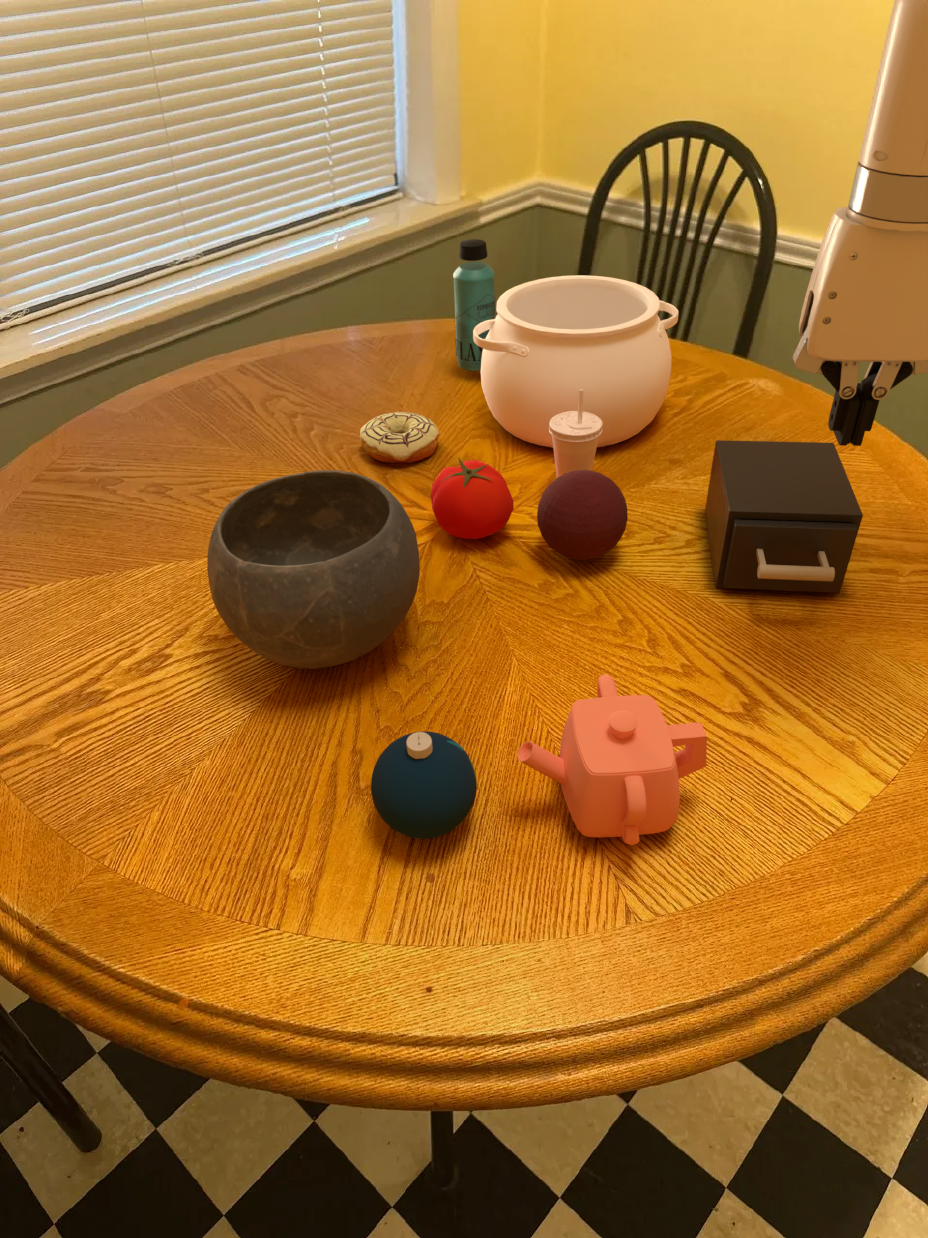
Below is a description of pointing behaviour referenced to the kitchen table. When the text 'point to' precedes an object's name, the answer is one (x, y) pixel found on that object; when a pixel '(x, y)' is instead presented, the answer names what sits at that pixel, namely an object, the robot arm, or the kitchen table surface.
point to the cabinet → (774, 490)
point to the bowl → (313, 567)
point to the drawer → (788, 555)
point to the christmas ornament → (423, 785)
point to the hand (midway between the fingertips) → (846, 437)
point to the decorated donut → (399, 437)
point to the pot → (576, 355)
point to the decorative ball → (582, 515)
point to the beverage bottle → (472, 302)
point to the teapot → (620, 764)
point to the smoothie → (575, 439)
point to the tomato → (471, 500)
